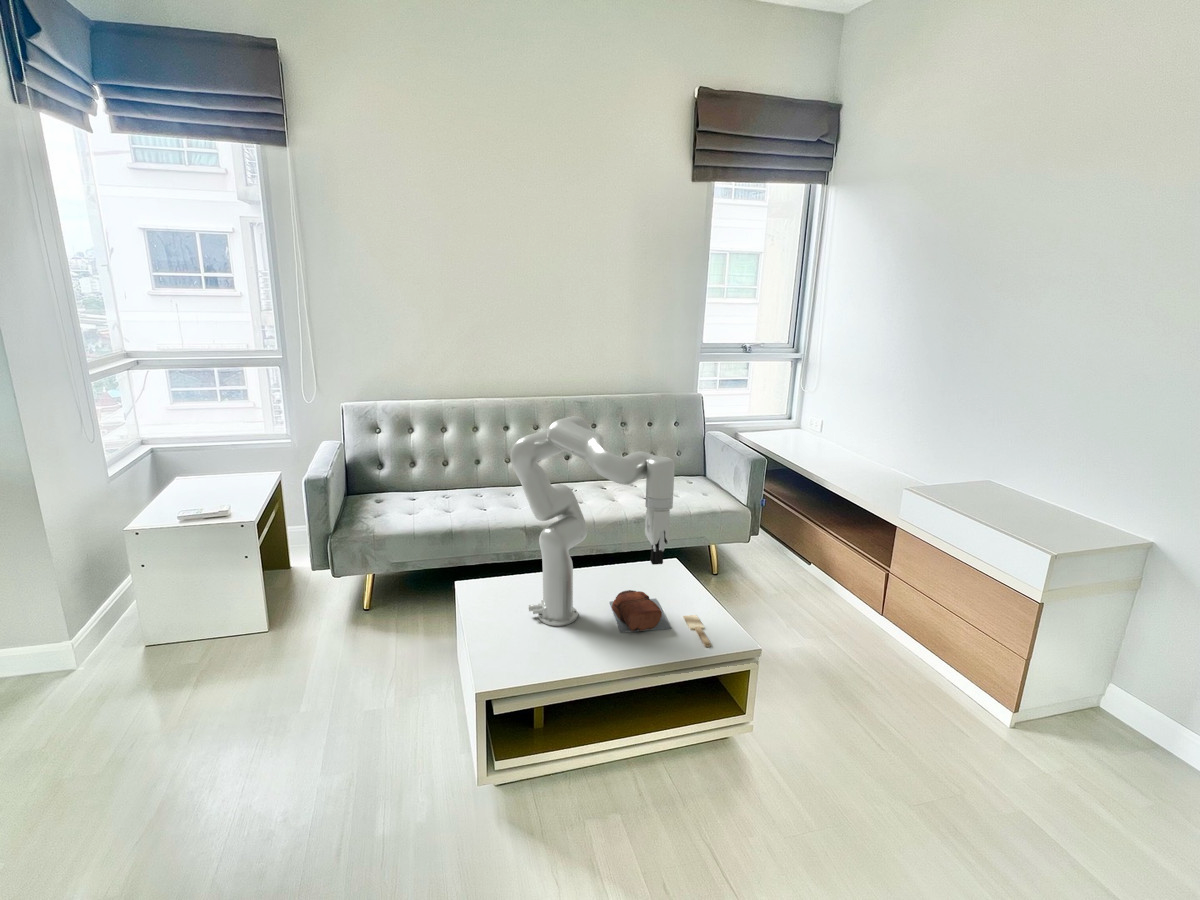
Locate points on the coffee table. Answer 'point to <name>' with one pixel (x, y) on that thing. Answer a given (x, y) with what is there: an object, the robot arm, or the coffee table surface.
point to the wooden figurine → (636, 610)
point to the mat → (661, 625)
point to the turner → (697, 628)
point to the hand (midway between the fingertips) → (656, 563)
